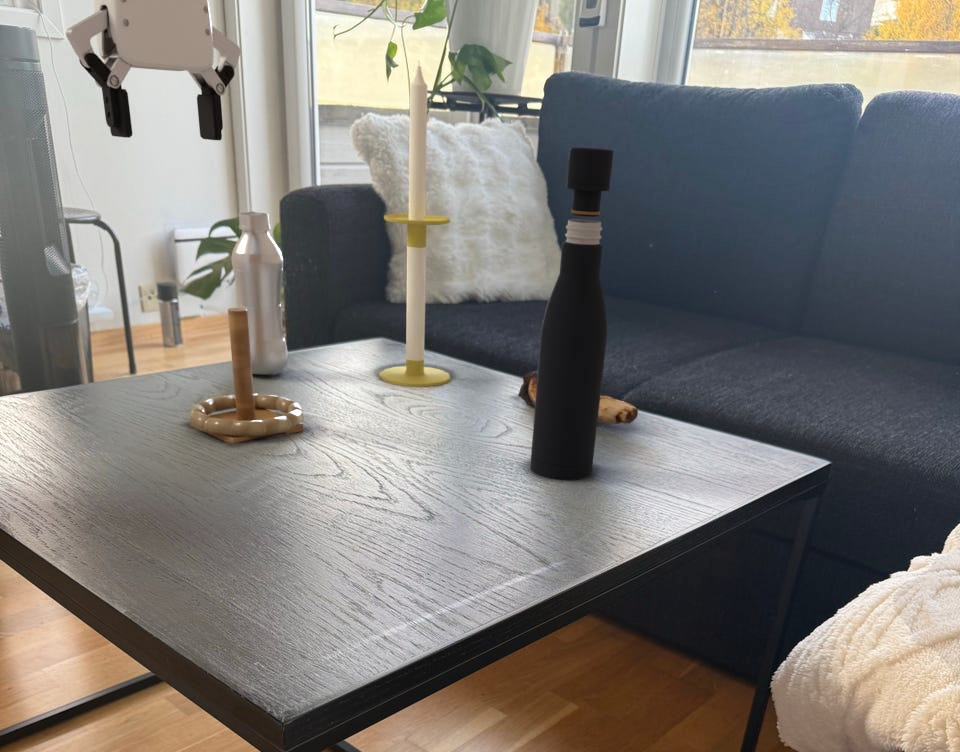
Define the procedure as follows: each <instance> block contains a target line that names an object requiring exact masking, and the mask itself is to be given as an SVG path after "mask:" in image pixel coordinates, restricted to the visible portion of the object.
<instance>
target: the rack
mask: <svg viewBox="0 0 960 752" xmlns="http://www.w3.org/2000/svg"><path fill="white" fill-rule="evenodd" d="M227 317H228V328H229V330H228V331H229V341H230V352H231V364H232V365H231V366H232V375H233V376H232V377H233V387H234V388H233V389H234V394H235V400H236V408H235V410H231V411H225V412H219V413H215V414H209V415H208V416H210V417H212V418H218V419H225V420H233V421H248V420H265V419H270V418H275V417H280V416H282V415H281V414H279V413H276V412H274V411H272V410H270V409H263V408H255V405H254V394H255V393H254V380H253V378H254V377H253V373H252V365H251V352H250V339H249V325H248V312H247V309H245V308H239V307H230V308H228V309H227ZM189 425H190V426H191V427H193V428H195V429H197V430H200V431H202V432H204V433H206V434H208V435H211V436H212V437H214V438H217V439H219V440H221V441H223V442H225V443H232V444H237V443H241V442H245V441H249V440H255V439H259V438H264V437H269V436H274V435H279V434H282V433H284V434H285V433H287V434H295V433H299V432H303V431H304V424H303V423H302V422H301V423H299V424H298V425H296V426H294V427H293V428H291V429H290V430H287V431H283V432H278V433H273V434H268V435H263V436H229V435H222V434H215V433H209V432H207V431H205V430H203V429H201V428H198V427H196V426H194V425H193V424H192V423H191V421H190V420H189Z"/></svg>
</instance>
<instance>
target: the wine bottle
mask: <svg viewBox="0 0 960 752" xmlns="http://www.w3.org/2000/svg"><path fill="white" fill-rule="evenodd" d="M613 159H614V150H613V149H607V148H593V147H570V148H569V152H568V161H567V163H568V164H567V176H566V189H568V190H573V194H572V206H571V209H570V213H571V215H572V216H578V217H588V218H589V217H590V218H592V217H593V218H595V217H596V218H597V217H599V216H600V215H601V210H600V209H601V203H602V202H601V201H602V193H603V192H609V191H610V188H611V186H610V185H611V179H612V169H613ZM565 228H566V233H565V234H564V236H565V237H566V240H564V241H563V242H562V243H561V250H560V251H561V252H560V262H559V263H560V265H559V272H558V273H559V274H558V277H557V278H556V281H555V283H554V286H553V288H552V291H551V293H550V296H549V299H548V301H547V305H546V308H545V312H544V314H543V319H542V324H541V327H540V337H539V350H538V351H539V352H538V363H537V371H538V374H537V387H536V400H535V406H534V413H533V427H532V437H531V438H532V439H531V440H532V441H531V452H530V453H531V454H530V466H529V467H530V471H531V472H532V473H533V474H535V475H537V476H540V477H543V478H546V479H551V480H558V481H578V480H582V479H586V478H588V477H590V476H591V474H592V472H593V463H594V458H595V457H594V455H595V446H596V440H597V439H596V437H597V430H598V423H597V421H598V412H599V404H600V395H602V384H603V376H604V367H605V359H606V351H607V350H606V349H607V340H608V320H607V319H608V318H607V307H606V301H605V295H604V290H603V286H602V281H601V277H600V276H601V275H600V274H601V267H602V256H603V248H604V247H603V244H602V243H600V240H601V239H602V236H601V231H603V227H602V222H601V221H598V220H591V219H568V220H567V224H566V225H565Z"/></svg>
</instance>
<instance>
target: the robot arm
mask: <svg viewBox="0 0 960 752" xmlns="http://www.w3.org/2000/svg"><path fill="white" fill-rule="evenodd" d="M93 8H94V13H93V14H91V15H89V16H87V17H86V18H84V19H82V20H80V21H78V22H77V23H75V24H74V25H72V26H70V27H68V28H67V29H66V30H65V36H66V38H67V40H68V42H69V44H70V45H71V47H72V49H73V51H74V53H75V55H77V57H78V59H79V60H78V61H79V64H80V65H81V66H82V68H83V69H84V70H85V71H86V72H87V73H88V74H89V75H90V77H92V79H93V80H94V82H95V85H97V87H99V88H100V89H101V92H102V101H103V109H104V117H105V122H106V125H107V127H109V128H110V129H109V130H110V134H111V136H112V137H116V138H117V137H118V138H128V139H130V138H132V136H133V126H132V118H131V111H130V110H131V109H130V101H129V93H128V90H127V89H126V88H122V83H123V82H124V80H125V78H126V76H127V75H128V73H129V71H130V70H131V69H133V68H134V69H146V70H158V71H168V72H169V71H170V72H188V74H189V75H190V76H191V78H192V80H193V81H194V82H195V84H196V85H197V87H198V88H199V90H200V91H201V92H200V93H201V94H199V93H198V94H197V96H196V104H197V115H198V127H199V128H198V129H199V135H200V138H202V139H203V140H209V141H222V138H223V135H222V131H223V128H224V126H223V125H224V123H223V121H224V120H223V110H222V109H223V108H222V97H221V96H224V95H225V93H226V90H227V89H226V88H227V87H228V85H229V84H230V83H231V81H232V80H233V79H234V77H235V69H236V68H237V65H238V62H239V59H240V56H241V47H240V46H239V45H238V44H236V43H235V42H234V41H232V40H231V39H230V38H229V37H228V36H226V35H225V34H224V33H222V32H221V31H219V30H218V29H217V28H215V26H213V25H212V19H211V18H212V17H211V12H210V4H209V0H93ZM95 36H96V42H97V48H98V49H97V50H98V53H99V55H97V54H96V53H95V51H94V49H93V46H92V43H91V39H92V38H93V37H95ZM214 49H215V50H217V51H218V52H219V55H220V56H219V57H220V58H219V63H218V65H217V66H216V67H215V68H214V67H213V65H214V57H215V55H214V54H215V53H214ZM99 56H100V57H99Z"/></svg>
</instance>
